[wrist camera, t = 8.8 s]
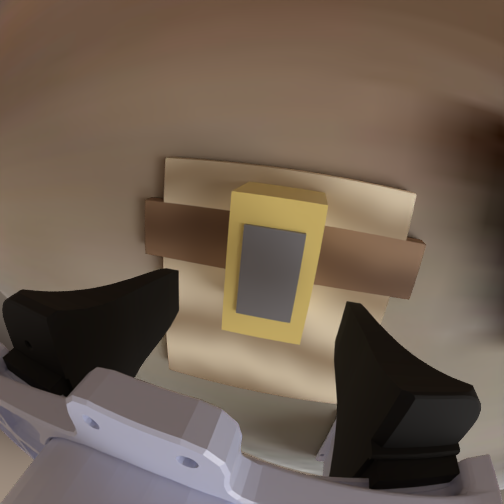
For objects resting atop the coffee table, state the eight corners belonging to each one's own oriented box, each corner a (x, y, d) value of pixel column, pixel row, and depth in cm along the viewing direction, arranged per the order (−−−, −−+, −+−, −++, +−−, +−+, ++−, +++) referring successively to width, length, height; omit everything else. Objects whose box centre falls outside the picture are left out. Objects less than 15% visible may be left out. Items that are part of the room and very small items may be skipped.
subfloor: (361, 398, 23) (362, 406, 22) (159, 358, 26) (154, 364, 25) (431, 196, 17) (436, 199, 16) (153, 156, 19) (146, 157, 19)
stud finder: (303, 309, 20) (299, 346, 16) (237, 297, 21) (220, 331, 17) (325, 192, 17) (328, 206, 13) (249, 181, 18) (230, 191, 14)
